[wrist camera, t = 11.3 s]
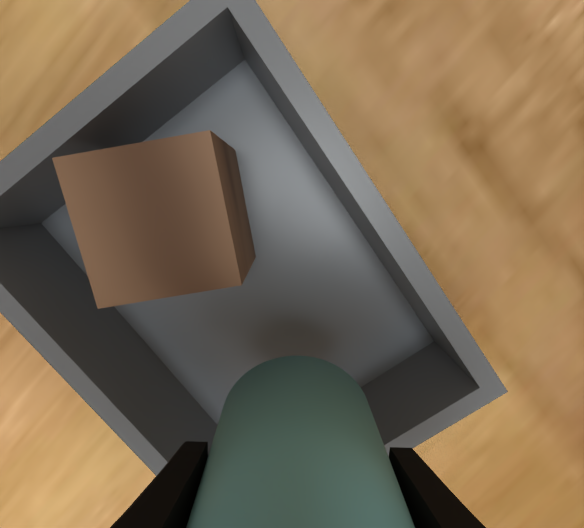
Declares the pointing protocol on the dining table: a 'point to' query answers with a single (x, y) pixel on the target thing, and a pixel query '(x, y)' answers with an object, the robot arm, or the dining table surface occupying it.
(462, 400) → the tote
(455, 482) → the dining table surface
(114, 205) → the walnut block
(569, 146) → the dining table surface
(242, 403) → the teal cylinder
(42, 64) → the dining table surface
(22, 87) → the dining table surface
